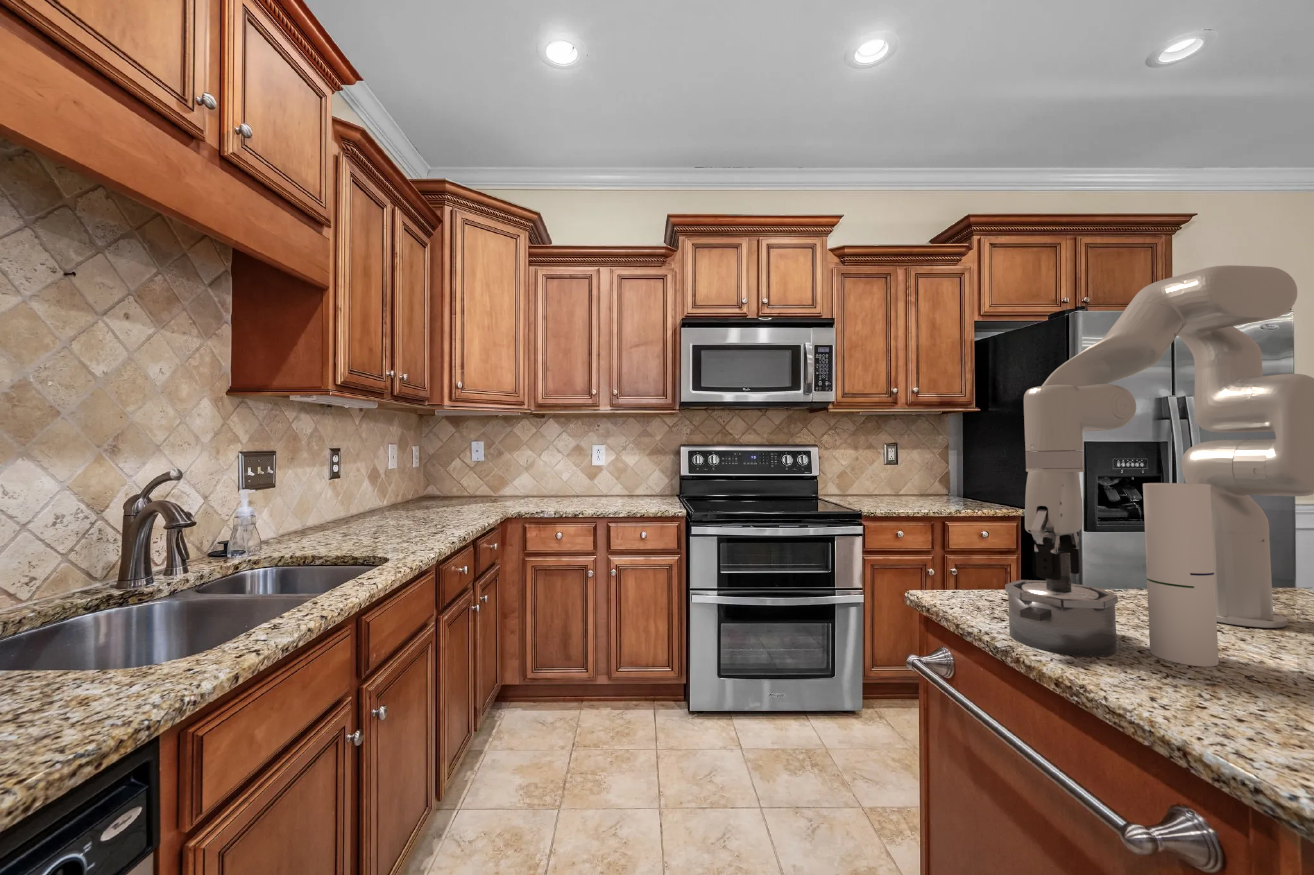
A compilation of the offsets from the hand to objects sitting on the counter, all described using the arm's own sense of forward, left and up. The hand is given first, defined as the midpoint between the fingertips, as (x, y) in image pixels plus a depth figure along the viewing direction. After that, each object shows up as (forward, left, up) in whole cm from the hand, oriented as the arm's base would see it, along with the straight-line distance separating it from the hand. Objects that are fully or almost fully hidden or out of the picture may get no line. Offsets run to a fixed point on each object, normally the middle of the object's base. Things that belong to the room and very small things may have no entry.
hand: (1058, 574), depth 87 cm
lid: (0, 0, -3) cm, 3 cm away
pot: (0, 0, -10) cm, 10 cm away
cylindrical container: (-6, +13, -11) cm, 18 cm away
